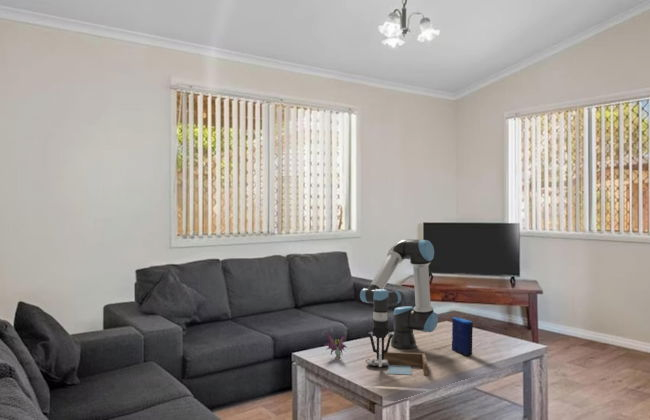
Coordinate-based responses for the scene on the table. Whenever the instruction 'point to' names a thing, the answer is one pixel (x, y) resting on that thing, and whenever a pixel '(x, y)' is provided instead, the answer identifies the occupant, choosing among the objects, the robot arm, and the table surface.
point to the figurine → (336, 345)
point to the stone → (377, 362)
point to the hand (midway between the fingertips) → (380, 365)
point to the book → (462, 335)
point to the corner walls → (407, 359)
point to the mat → (399, 369)
